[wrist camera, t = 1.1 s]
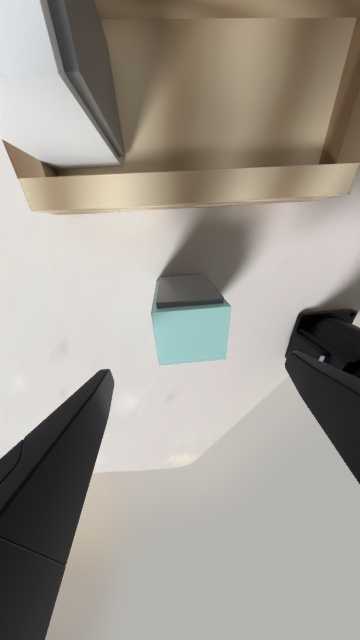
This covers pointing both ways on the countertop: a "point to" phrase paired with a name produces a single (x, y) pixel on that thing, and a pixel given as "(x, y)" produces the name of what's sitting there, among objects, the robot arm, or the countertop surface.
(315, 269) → the countertop surface
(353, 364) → the robot arm
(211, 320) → the teal block
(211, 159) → the wooden tray
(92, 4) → the grey rectangular block
